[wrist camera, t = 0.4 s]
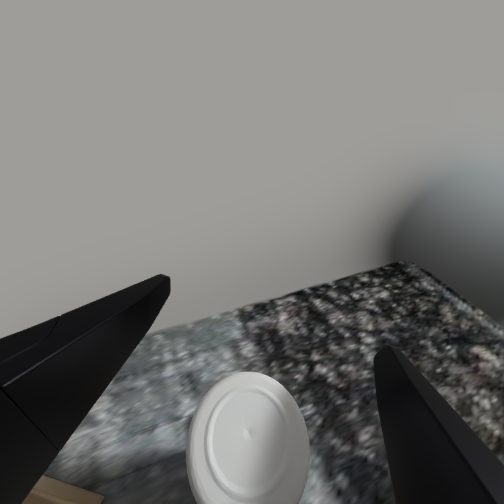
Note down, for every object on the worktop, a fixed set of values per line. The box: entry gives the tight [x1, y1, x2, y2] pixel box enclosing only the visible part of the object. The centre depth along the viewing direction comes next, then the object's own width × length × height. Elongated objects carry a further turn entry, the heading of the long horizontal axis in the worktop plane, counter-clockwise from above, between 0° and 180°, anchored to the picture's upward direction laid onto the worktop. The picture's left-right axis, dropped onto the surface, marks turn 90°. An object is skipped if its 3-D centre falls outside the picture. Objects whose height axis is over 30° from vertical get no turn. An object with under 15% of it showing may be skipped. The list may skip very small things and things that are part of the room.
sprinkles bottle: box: [186, 372, 310, 504], centre depth 12 cm, size 5×5×13 cm
